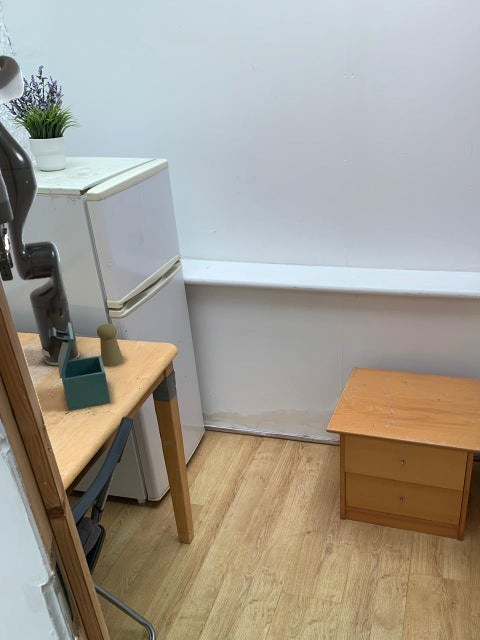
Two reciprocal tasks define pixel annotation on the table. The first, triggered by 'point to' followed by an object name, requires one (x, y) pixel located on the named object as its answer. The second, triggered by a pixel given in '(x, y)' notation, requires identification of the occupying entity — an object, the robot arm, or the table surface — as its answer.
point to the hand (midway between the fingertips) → (8, 273)
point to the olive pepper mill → (109, 345)
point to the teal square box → (85, 383)
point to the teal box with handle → (63, 346)
